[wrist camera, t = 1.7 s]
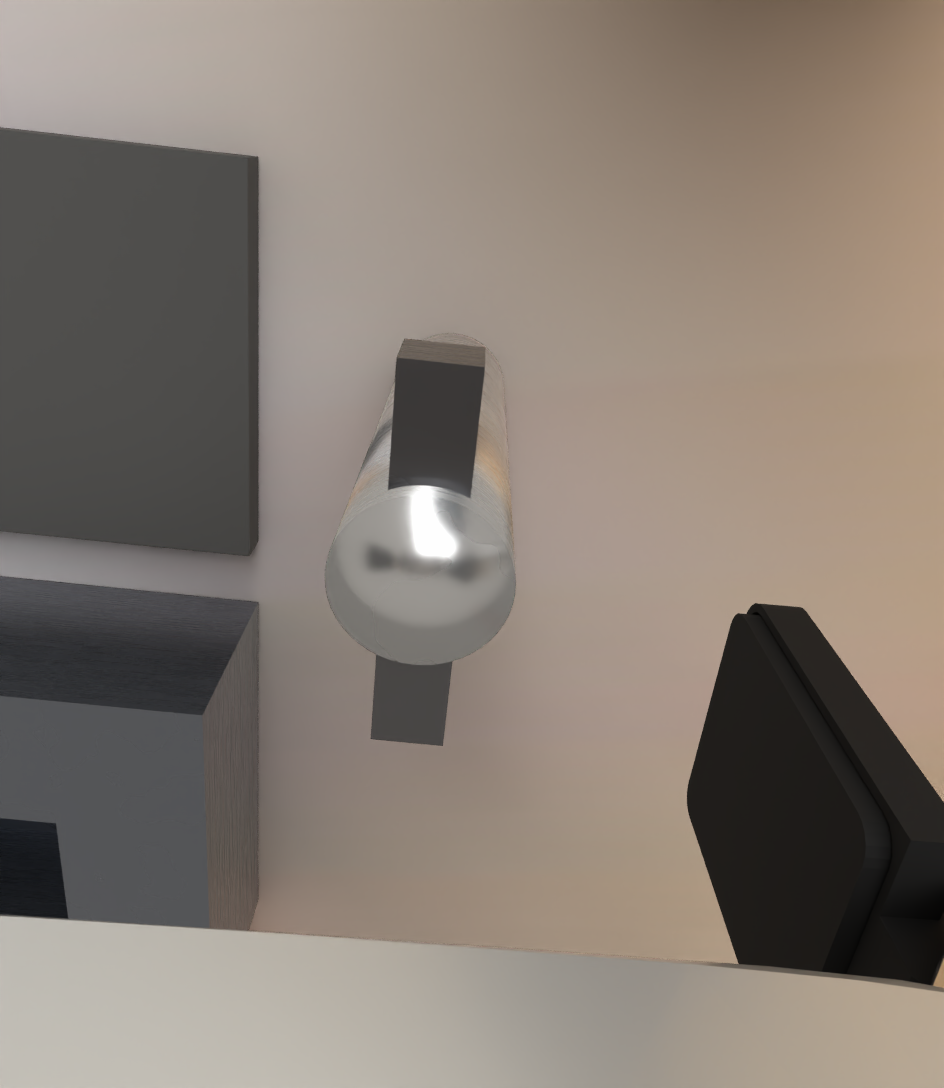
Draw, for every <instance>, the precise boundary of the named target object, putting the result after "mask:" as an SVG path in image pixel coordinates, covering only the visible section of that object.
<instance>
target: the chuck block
mask: <svg viewBox="0 0 944 1088" xmlns="http://www.w3.org/2000/svg"><path fill="white" fill-rule="evenodd" d="M257 902H258V602H251V601H241V600H231V599H221V598H211V597H201V596H191V595H181V594H171V593H161V592H151V591H141V590H131V589H121V588H111V587H101V586H91V585H81V584H71V583H61V582H51V581H41V580H31V579H21V578H11V577H1V576H0V914H2V915H18V916H33V917H48V918H64V919H79V920H94V921H110V922H125V923H140V924H156V925H171V926H186V927H202V928H217V929H232V930H247V931H249V929H250V925H251V922H252V919H253V915H254V912H255V909H256V905H257Z"/></svg>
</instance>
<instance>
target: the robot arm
mask: <svg viewBox="0 0 944 1088" xmlns="http://www.w3.org/2000/svg"><path fill="white" fill-rule="evenodd" d="M687 806H688V812H689V816H690V819H691V822H692V825H693V828H694V831H695V834H696V837H697V840H698V843H699V846H700V849H701V852H702V855H703V858H704V861H705V864H706V867H707V870H708V873H709V876H710V879H711V882H712V885H713V888H714V891H715V894H716V897H717V900H718V903H719V906H720V909H721V912H722V915H723V918H724V921H725V924H726V927H727V930H728V933H729V936H730V939H731V942H732V945H733V948H734V951H735V954H736V957H737V960H738V963H739V964H730V963H716V962H702V961H688V960H674V959H660V958H645V957H631V956H617V955H603V954H589V953H575V952H561V951H547V950H533V949H519V948H505V947H490V946H475V945H460V944H445V943H430V942H414V941H399V940H384V939H369V938H354V937H339V936H323V935H308V934H293V933H278V932H263V931H247V930H232V929H217V928H202V927H186V926H171V925H156V924H140V923H125V922H110V921H94V920H79V919H64V918H48V917H33V916H18V915H2V914H0V1088H944V802H943V801H942V799H941V798H940V797H939V795H938V794H937V792H936V791H935V790H934V788H933V787H932V786H931V784H930V783H929V781H928V780H927V779H926V777H925V776H924V774H923V773H922V772H921V770H920V769H919V767H918V766H917V765H916V763H915V762H914V761H913V759H912V758H911V756H910V755H909V754H908V752H907V751H906V749H905V748H904V747H903V745H902V744H901V743H900V741H899V740H898V738H897V737H896V736H895V734H894V733H893V731H892V730H891V729H890V727H889V726H888V724H887V723H886V722H885V720H884V719H883V718H882V716H881V715H880V713H879V712H878V711H877V709H876V708H875V706H874V705H873V704H872V702H871V701H870V699H869V698H868V697H867V695H866V694H865V693H864V691H863V690H862V688H861V687H860V686H859V684H858V683H857V681H856V680H855V679H854V677H853V676H852V675H851V673H850V672H849V670H848V669H847V668H846V666H845V665H844V663H843V662H842V661H841V659H840V658H839V656H838V655H837V654H836V652H835V651H834V650H833V648H832V647H831V645H830V644H829V643H828V641H827V640H826V638H825V637H824V636H823V634H822V633H821V631H820V630H819V629H818V627H817V626H816V625H815V623H814V622H813V620H812V619H811V618H810V616H809V615H808V613H807V612H806V611H805V610H804V609H803V608H801V607H790V606H779V605H768V604H756V603H755V604H754V605H752V606H751V607H750V609H749V610H748V612H747V614H739V613H738V614H737V615H735V617H734V618H733V620H732V623H731V626H730V630H729V633H728V637H727V641H726V645H725V648H724V652H723V656H722V660H721V663H720V667H719V671H718V675H717V678H716V682H715V686H714V690H713V693H712V697H711V701H710V705H709V709H708V712H707V716H706V720H705V724H704V727H703V731H702V735H701V739H700V742H699V746H698V750H697V754H696V757H695V761H694V765H693V769H692V772H691V776H690V780H689V784H688V791H687Z"/></svg>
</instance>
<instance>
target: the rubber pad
mask: <svg viewBox="0 0 944 1088" xmlns="http://www.w3.org/2000/svg"><path fill="white" fill-rule="evenodd" d="M0 531H6V532H16V533H26V534H35V535H45V536H55V537H65V538H75V539H85V540H95V541H105V542H114V543H124V544H134V545H144V546H154V547H164V548H174V549H183V550H193V551H203V552H213V553H223V554H233V555H243V556H250V554H251V553H252V551H253V549H254V547H255V546H256V544H257V542H258V157H255V156H247V155H238V154H229V153H220V152H212V151H203V150H194V149H185V148H177V147H168V146H159V145H150V144H141V143H133V142H124V141H115V140H106V139H98V138H89V137H80V136H71V135H63V134H54V133H45V132H36V131H28V130H19V129H10V128H1V127H0Z"/></svg>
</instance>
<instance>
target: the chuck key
mask: <svg viewBox="0 0 944 1088" xmlns="http://www.w3.org/2000/svg"><path fill="white" fill-rule="evenodd" d="M325 587H326V593H327V598H328V600H329V603H330V606H331V609H332V611H333V613H334V615H335V617H336V618H337V620H338V621H339V623H340V624H341V626H342V627H343V628H344V629H345V631H346V632H347V633H348V634H349V635H350V636H351V637H352V638H353V639H354V640H356V641H357V642H358V643H359V644H360V645H362V646H363V647H365V648H366V649H368V650H369V651H371V652H373V653H375V654H377V655H376V670H375V685H374V700H373V714H372V729H371V739H376V740H387V741H397V742H408V743H418V744H429V745H439V746H443V739H444V730H445V721H446V712H447V703H448V694H449V685H450V677H451V668H452V661H454V660H457V659H460V658H463V657H465V656H467V655H470V654H471V653H473V652H475V651H476V650H478V649H480V648H481V647H482V646H484V645H485V644H486V643H488V642H489V641H490V640H491V639H492V638H493V637H494V636H495V635H496V634H497V633H498V631H499V630H500V629H501V627H502V626H503V625H504V623H505V621H506V619H507V617H508V616H509V613H510V611H511V608H512V605H513V601H514V597H515V588H516V577H515V560H514V543H513V527H512V510H511V493H510V477H509V460H508V443H507V427H506V410H505V393H504V379H503V374H502V371H501V368H500V365H499V364H498V362H497V360H496V358H495V357H494V355H493V354H492V353H491V352H490V351H489V349H488V348H486V347H485V346H484V345H483V344H481V343H480V342H478V341H477V340H475V339H473V338H471V337H468V336H465V335H461V334H454V333H445V334H438V335H434V336H431V337H429V338H426V339H425V340H423V341H422V340H413V339H404V341H403V344H402V346H401V348H400V351H399V353H398V356H397V361H396V376H395V381H394V384H393V387H392V389H391V392H390V395H389V397H388V400H387V402H386V405H385V408H384V410H383V413H382V415H381V418H380V421H379V423H378V426H377V429H376V431H375V434H374V436H373V439H372V442H371V444H370V447H369V449H368V452H367V455H366V457H365V460H364V463H363V465H362V468H361V470H360V473H359V476H358V478H357V481H356V483H355V486H354V489H353V491H352V494H351V496H350V499H349V502H348V504H347V507H346V510H345V512H344V515H343V517H342V520H341V523H340V525H339V528H338V530H337V533H336V536H335V538H334V541H333V544H332V546H331V549H330V551H329V554H328V558H327V562H326V569H325Z"/></svg>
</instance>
